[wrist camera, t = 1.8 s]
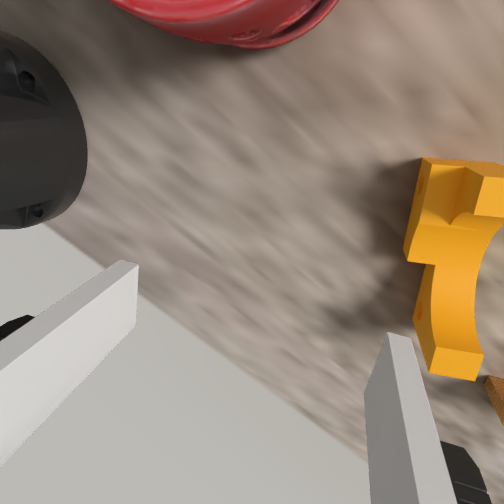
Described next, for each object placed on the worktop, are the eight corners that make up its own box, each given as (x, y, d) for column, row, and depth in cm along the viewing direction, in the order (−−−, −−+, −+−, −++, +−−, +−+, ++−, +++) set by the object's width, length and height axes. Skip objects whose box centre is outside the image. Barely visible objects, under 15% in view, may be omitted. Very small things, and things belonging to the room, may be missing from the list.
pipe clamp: (421, 157, 24) (445, 173, 18) (494, 162, 23) (543, 181, 17) (388, 314, 29) (398, 367, 23) (448, 323, 28) (475, 381, 22)
